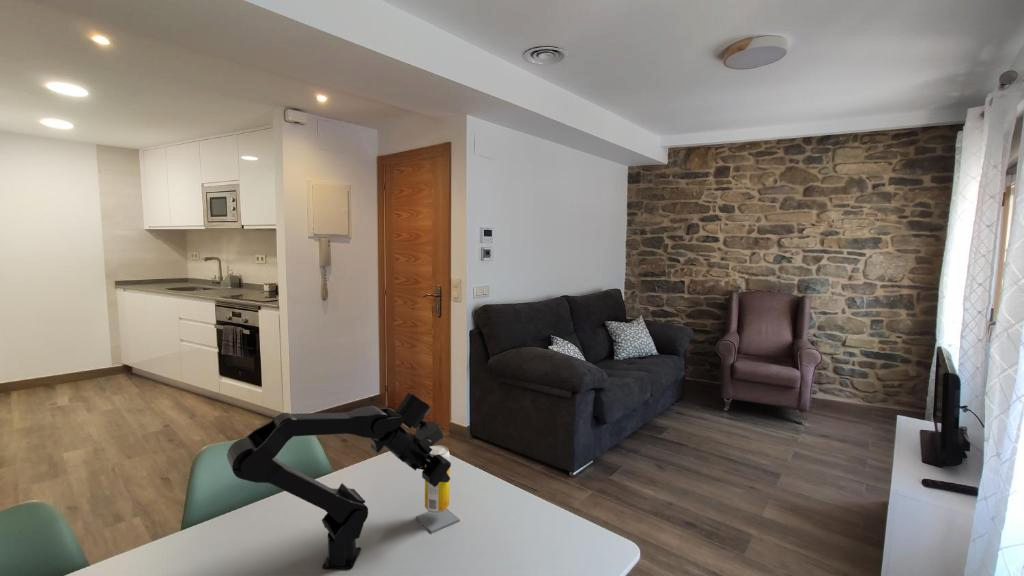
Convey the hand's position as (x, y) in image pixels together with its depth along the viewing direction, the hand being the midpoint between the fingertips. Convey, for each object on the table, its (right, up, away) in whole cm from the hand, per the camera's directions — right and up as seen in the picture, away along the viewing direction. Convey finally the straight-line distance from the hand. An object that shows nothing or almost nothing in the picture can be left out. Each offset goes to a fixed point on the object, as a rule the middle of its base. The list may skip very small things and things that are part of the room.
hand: (442, 475), depth 117 cm
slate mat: (-1, -11, 0) cm, 11 cm away
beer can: (-1, -8, 0) cm, 8 cm away
